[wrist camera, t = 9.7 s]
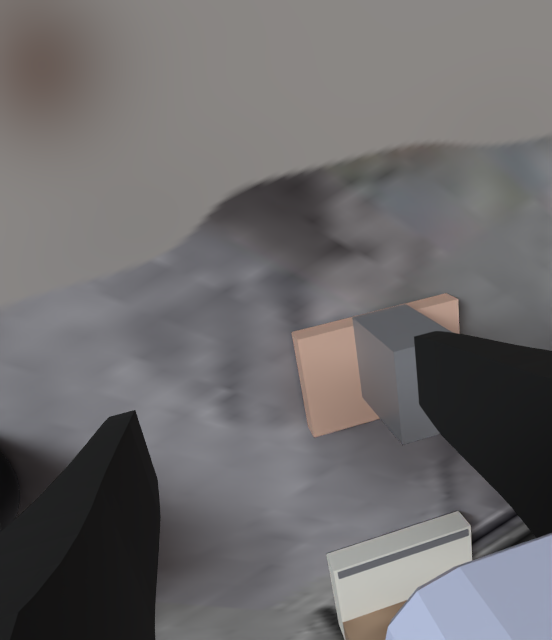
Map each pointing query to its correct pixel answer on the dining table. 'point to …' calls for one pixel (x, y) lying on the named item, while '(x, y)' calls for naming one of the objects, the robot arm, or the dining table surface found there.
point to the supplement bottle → (8, 493)
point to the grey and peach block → (370, 368)
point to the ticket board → (393, 572)
